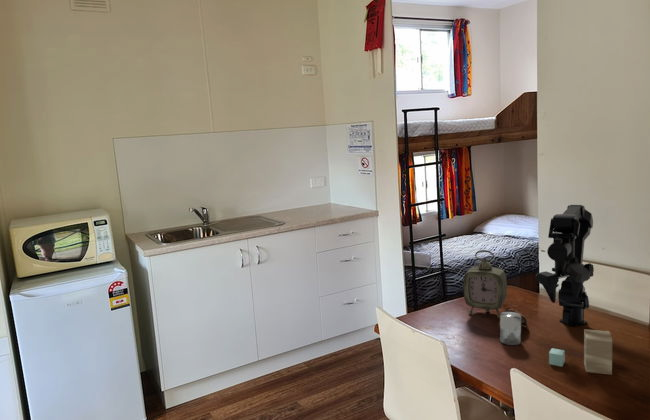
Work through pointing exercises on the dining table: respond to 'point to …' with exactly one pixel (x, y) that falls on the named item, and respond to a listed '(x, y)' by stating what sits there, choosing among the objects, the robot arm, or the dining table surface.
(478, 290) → the tabletop clock
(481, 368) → the dining table surface
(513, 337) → the grey tin
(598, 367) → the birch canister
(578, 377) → the dining table surface
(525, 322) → the pottery mug
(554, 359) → the letter block
